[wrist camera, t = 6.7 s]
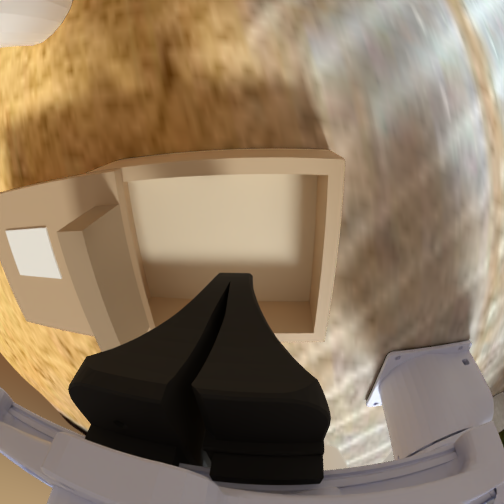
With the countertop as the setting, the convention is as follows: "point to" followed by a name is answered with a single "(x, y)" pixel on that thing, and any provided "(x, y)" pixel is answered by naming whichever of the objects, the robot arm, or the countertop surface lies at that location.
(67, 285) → the lid
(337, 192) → the mailer
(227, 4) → the countertop surface
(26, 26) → the white cup
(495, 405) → the house plant
